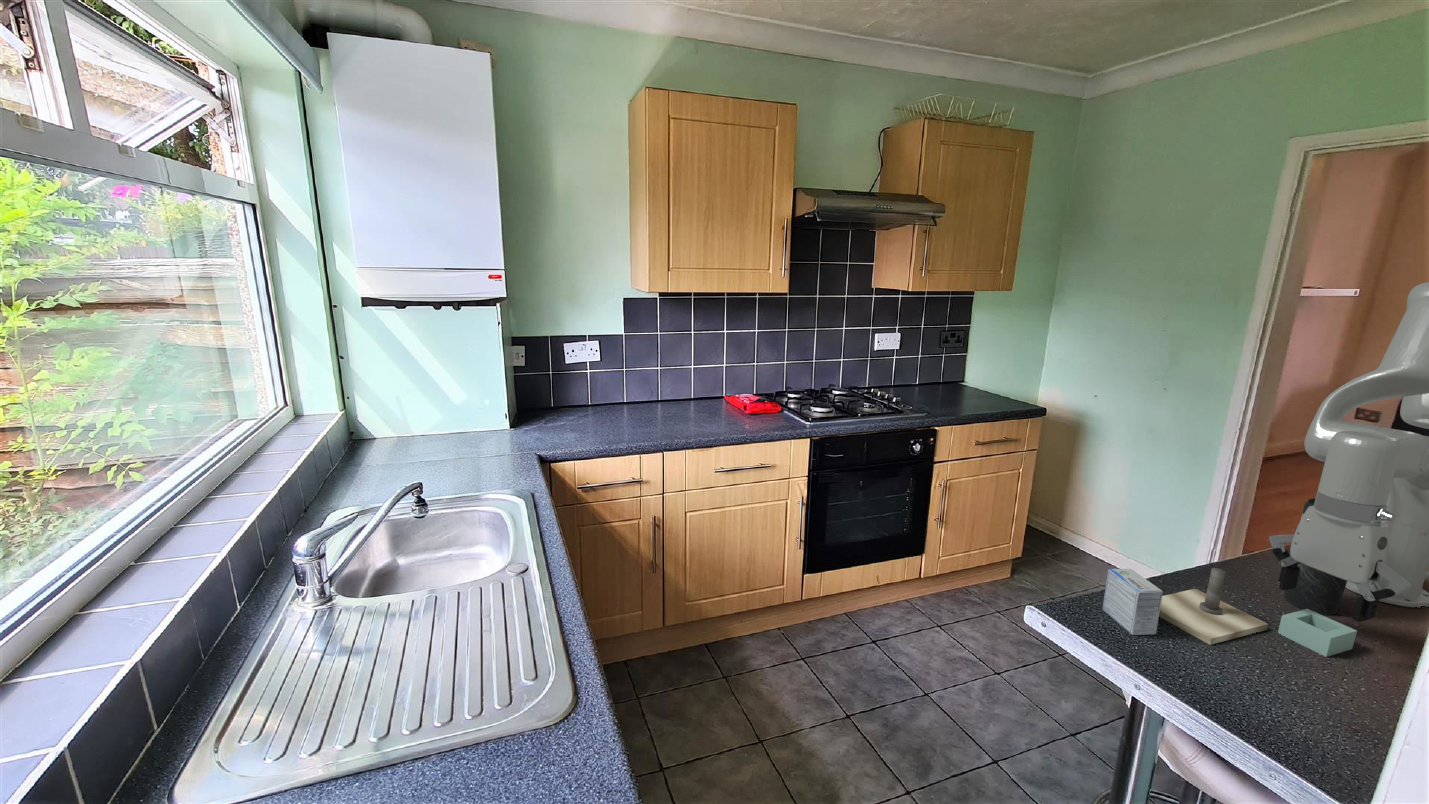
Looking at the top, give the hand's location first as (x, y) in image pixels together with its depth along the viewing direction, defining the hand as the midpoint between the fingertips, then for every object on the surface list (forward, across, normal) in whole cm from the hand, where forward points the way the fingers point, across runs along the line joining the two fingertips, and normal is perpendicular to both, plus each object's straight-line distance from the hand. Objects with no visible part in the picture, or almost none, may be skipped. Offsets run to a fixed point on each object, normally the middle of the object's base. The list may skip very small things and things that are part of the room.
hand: (1322, 603), depth 96 cm
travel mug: (+7, +8, -14) cm, 18 cm away
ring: (+7, 0, -1) cm, 7 cm away
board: (+8, +11, +10) cm, 17 cm away
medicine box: (+8, +14, +24) cm, 29 cm away
